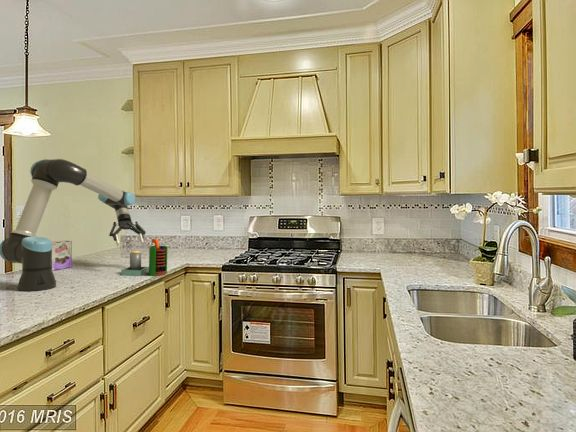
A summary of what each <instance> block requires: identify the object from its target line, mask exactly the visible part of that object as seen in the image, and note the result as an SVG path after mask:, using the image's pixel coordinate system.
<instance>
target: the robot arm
mask: <svg viewBox="0 0 576 432" xmlns="http://www.w3.org/2000/svg"><path fill="white" fill-rule="evenodd" d="M29 172H30V176H31V180H30V181H31V183H32V185H33V186H32V187H31V189H30V192H29V193H28V194H29V195H28V197H27V200H26V202H25V205H24V207H23V209H22V212H21V213H20V214H21V215H20V217H19V220H18V222H17V225H16V227H15V229H14V230H12V231H10V232H9V235H8V237H7V238H5V239H3V240H2V241H1V242H0V258H2V259H3V260H4V261H7V262H9V263H12V264H21V268H22V269H21V270H22V271H21V275H20V277H19V280H18V283H17V290H18V291H22V292H34V291H35V292H36V291H37V292H38V291H45V290H49V289H50V290H51V289H53V288H56V287H57V280H56V277H55V275H54V272H53V271H52V243H51V242H52V240H51V239H50V238H48V237H42V236H37V233H38V229H39V227H40V224H41V222H42V219H43V217H44V214H45V211H46V208H47V205H48V203H49V201H50V198H51V195H52V192H54V191H55V190H57V188H58V186H59V183H68V184H70V185H71V184H72V185H74V186H81V187H82V188H83V187H84V188H86V189H88V190H90V191H92V192H94V193H96V194H98V196H97V198H98V200H99V201H101V202H102V203H103V204H105V205H107V206H108V207H110V208H112V209H114V211H115V214H116V219H117V222H116V221H114V222H113V224H112V228H111V230H110V232H109V234H108V236H109V237H112V238H113V241H114V242H115V244H116V247H118V246H119V245H120V240H119V237H118V234H120V232H121V231H122V230H130V231H132V232H134V233H135V234H137V235H138V238H139V241H140V245H141V246H142V245H143V244H144V242H145V241H144V240H145V237H144V236H145V235H146V233H147V231H146V230H145V229H144V228H143V227H142V226H141V225H140V224H139V223H138V221H135V222H132V218H131V214H130V210H129V207H128V206H132V205H134V204H135V202H136V195H135V194H134V193H133V192H128V191H127V192H126V191H124V190H122V189H120V188H118V187H116V186H114V185H112V184H110V183H109V182H107V181H105V180H102V179H101V178H99V177H97V176H95V175H92V174H91V173H89V172H88V171H87V169H86V168H83V167H81V166H80V165H78V164H76V163H73V162H72V161H69V160H66V159H62V158H61V159H60V158H56V159H55V158H54V159H47V158H45V159H40V160H38V161H37V160H36V162H34V163H33V164H32V165H31V167H30V171H29ZM117 226H118V227H117ZM116 228H117V229H116ZM115 229H116V230H115Z"/></svg>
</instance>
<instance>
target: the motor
mask: <svg viewBox="0 0 576 432" xmlns="http://www.w3.org/2000/svg"><path fill="white" fill-rule="evenodd" d="M151 244H154V245H152V246H149V247H148V248H149V249H148V267H149V273H148V276H150V277H160V276H161V277H162V276H165V275H166V274H167V273H168V246H166V245H160V243H159V240H158V238H152V239H151Z"/></svg>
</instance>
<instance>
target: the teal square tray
mask: <svg viewBox="0 0 576 432" xmlns="http://www.w3.org/2000/svg"><path fill="white" fill-rule="evenodd" d="M120 275H121V276H124V277H125V276H126V277H127V276H128V277H129V276H130V277H131V276H132V277H133V276H134V277H142V276H146V275H149V266H141V270H130V266H128V267H125V268H123V269H121V273H120Z"/></svg>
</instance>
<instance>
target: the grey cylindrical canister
mask: <svg viewBox="0 0 576 432" xmlns="http://www.w3.org/2000/svg"><path fill="white" fill-rule="evenodd" d="M129 267H130V270H141V267H142V252H141V251H140V250H132V251H131V253H129Z"/></svg>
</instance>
